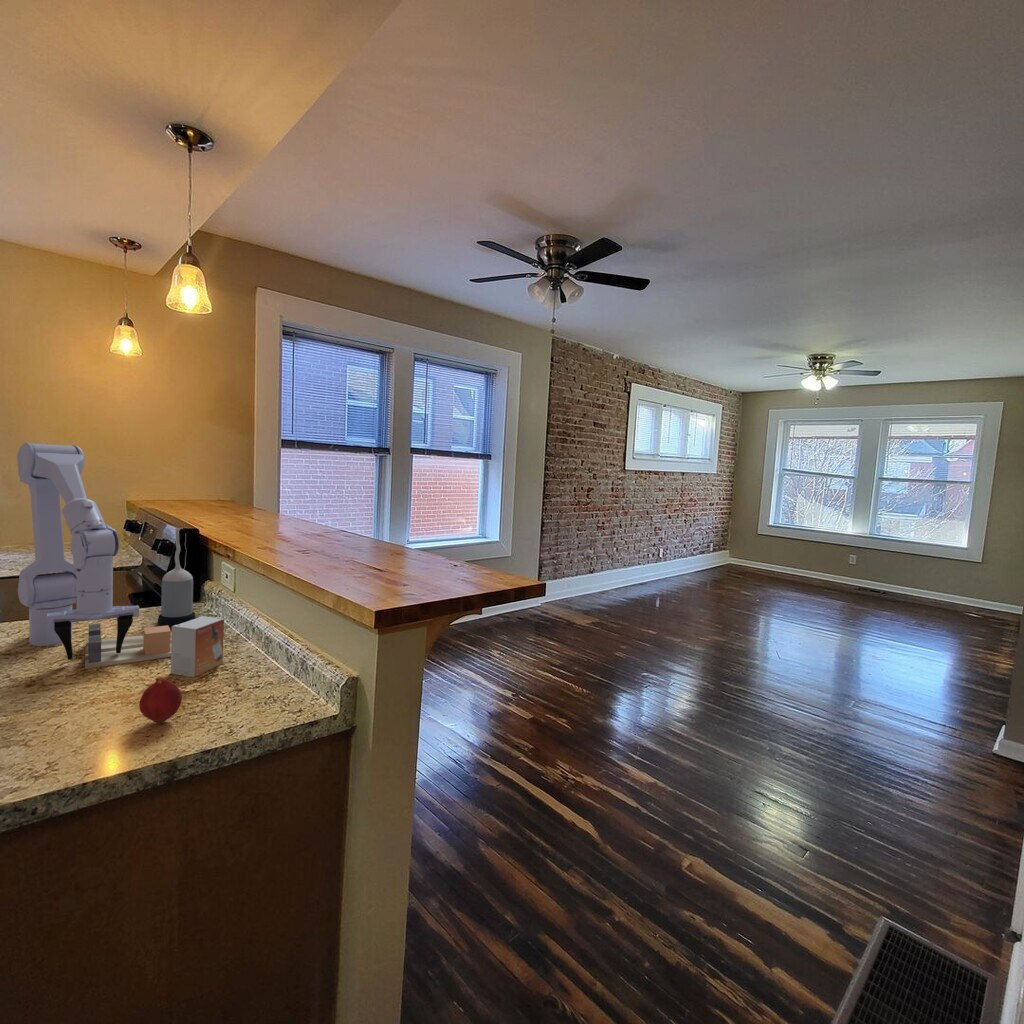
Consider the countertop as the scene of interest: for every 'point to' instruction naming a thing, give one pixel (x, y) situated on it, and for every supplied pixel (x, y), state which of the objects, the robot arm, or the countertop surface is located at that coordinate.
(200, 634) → the small box
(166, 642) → the block
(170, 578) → the humidifier
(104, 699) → the countertop surface
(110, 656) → the near strip
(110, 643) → the far strip
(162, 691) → the onion
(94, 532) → the robot arm
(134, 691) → the countertop surface
